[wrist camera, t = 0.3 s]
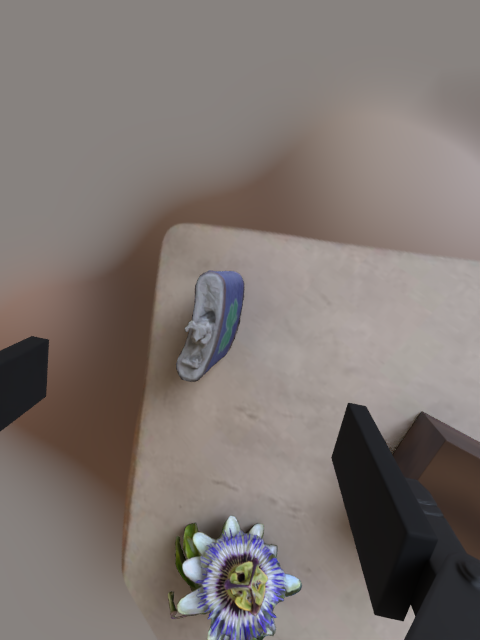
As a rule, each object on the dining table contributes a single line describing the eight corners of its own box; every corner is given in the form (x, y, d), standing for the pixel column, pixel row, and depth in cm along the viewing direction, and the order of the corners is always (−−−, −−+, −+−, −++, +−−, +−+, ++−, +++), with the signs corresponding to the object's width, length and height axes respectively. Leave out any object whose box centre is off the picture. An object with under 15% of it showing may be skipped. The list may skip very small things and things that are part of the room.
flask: (224, 268, 36) (191, 267, 25) (252, 275, 35) (230, 278, 25) (202, 354, 37) (163, 387, 27) (229, 362, 37) (200, 399, 26)
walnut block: (421, 410, 34) (445, 439, 28) (520, 464, 33) (567, 505, 27) (367, 491, 36) (379, 534, 30) (459, 544, 35) (490, 598, 29)
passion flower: (262, 497, 44) (325, 575, 33) (230, 579, 44) (283, 683, 33) (179, 488, 39) (223, 577, 28) (144, 582, 39) (174, 706, 28)
